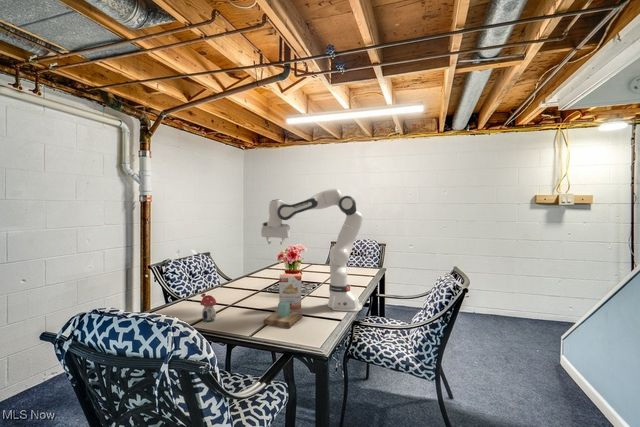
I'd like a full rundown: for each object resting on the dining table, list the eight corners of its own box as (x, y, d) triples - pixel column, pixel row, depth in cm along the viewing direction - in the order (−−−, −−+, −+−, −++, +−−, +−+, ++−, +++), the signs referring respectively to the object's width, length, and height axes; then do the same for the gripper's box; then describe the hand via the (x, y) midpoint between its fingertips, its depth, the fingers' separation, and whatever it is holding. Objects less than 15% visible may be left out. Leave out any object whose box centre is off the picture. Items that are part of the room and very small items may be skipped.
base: (302, 317, 175) (302, 312, 175) (290, 328, 160) (290, 322, 160) (277, 313, 181) (277, 308, 181) (263, 323, 166) (263, 318, 166)
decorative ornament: (198, 320, 171) (198, 293, 170) (207, 316, 177) (207, 291, 176) (209, 323, 166) (209, 296, 166) (218, 319, 172) (218, 293, 172)
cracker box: (279, 309, 189) (279, 276, 188) (279, 305, 195) (279, 273, 194) (301, 308, 190) (301, 275, 189) (301, 305, 196) (301, 273, 195)
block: (289, 314, 173) (289, 302, 172) (285, 317, 168) (285, 304, 168) (282, 312, 174) (282, 301, 174) (277, 316, 170) (277, 303, 169)
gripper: (291, 223, 200) (291, 244, 201) (264, 222, 207) (264, 242, 208) (287, 224, 194) (287, 245, 195) (260, 223, 201) (260, 243, 202)
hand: (275, 244), depth 201 cm, fingers open, 8 cm apart
